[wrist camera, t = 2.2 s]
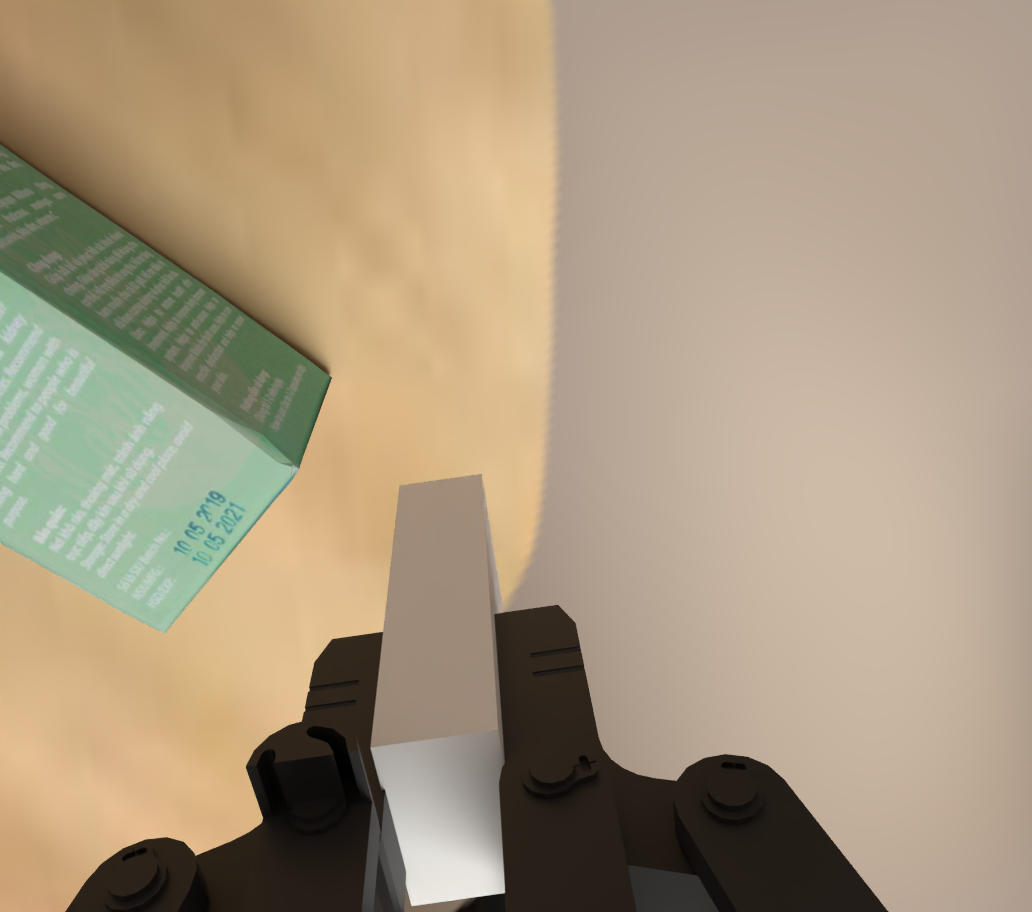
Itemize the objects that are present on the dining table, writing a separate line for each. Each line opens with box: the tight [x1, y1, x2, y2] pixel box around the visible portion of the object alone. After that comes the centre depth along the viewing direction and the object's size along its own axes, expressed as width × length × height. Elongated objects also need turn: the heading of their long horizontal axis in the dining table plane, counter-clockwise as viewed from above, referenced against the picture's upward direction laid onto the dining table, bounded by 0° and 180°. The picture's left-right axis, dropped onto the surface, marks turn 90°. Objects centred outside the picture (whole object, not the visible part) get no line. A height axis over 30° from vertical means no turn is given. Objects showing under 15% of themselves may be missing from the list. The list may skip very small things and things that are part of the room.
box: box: [0, 144, 332, 634], centre depth 27 cm, size 7×14×8 cm, turn 51°
